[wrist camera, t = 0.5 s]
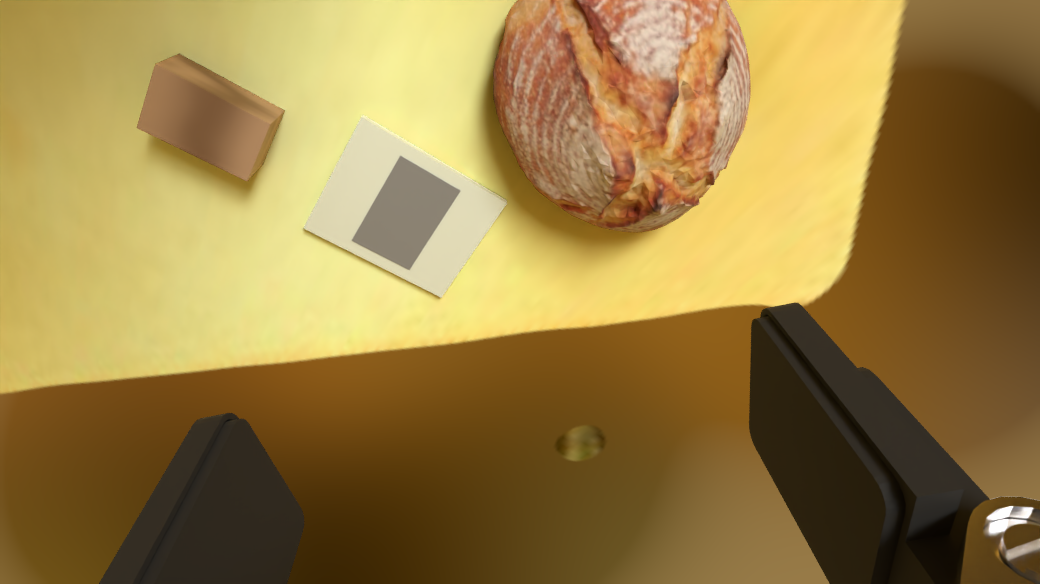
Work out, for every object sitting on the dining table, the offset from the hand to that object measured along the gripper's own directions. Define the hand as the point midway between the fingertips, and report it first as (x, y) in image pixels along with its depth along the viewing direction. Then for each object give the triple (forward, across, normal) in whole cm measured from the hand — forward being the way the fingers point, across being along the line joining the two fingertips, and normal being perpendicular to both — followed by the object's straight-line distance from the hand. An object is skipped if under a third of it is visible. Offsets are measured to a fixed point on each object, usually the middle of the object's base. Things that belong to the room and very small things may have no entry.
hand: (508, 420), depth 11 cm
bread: (+34, -9, +3) cm, 35 cm away
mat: (+33, +8, +9) cm, 36 cm away
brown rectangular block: (+34, +18, -1) cm, 38 cm away
